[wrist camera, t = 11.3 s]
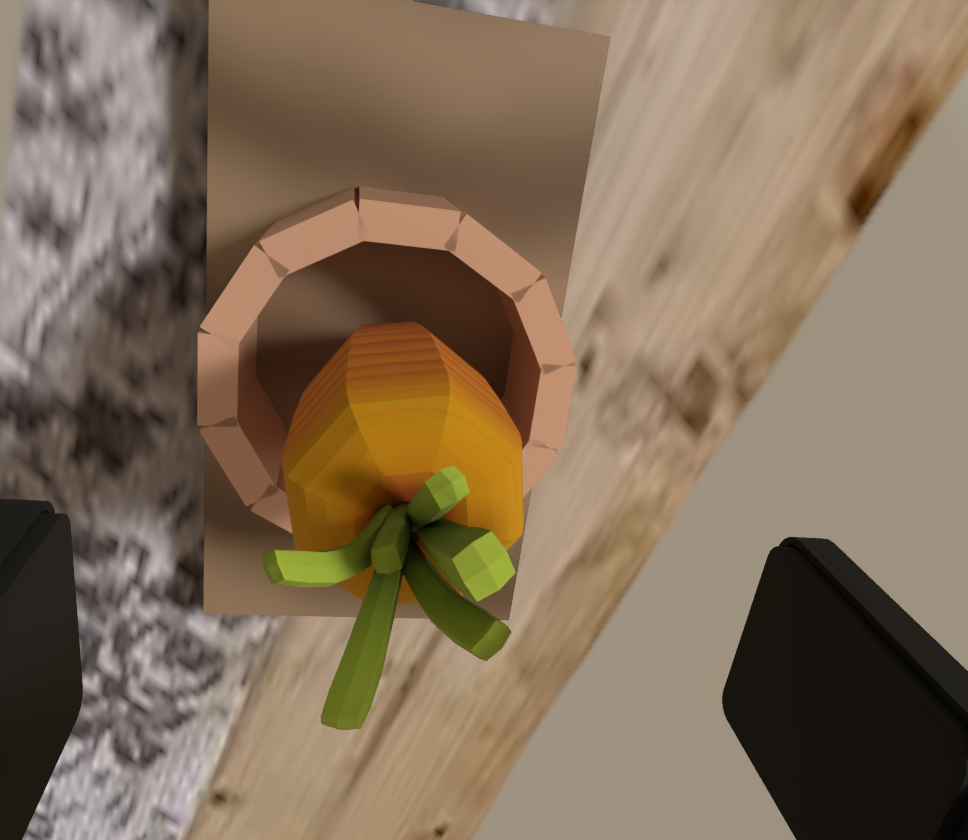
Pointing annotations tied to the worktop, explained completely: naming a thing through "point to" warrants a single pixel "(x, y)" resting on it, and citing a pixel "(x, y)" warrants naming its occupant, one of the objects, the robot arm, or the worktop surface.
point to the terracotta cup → (328, 230)
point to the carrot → (400, 498)
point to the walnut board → (391, 166)
